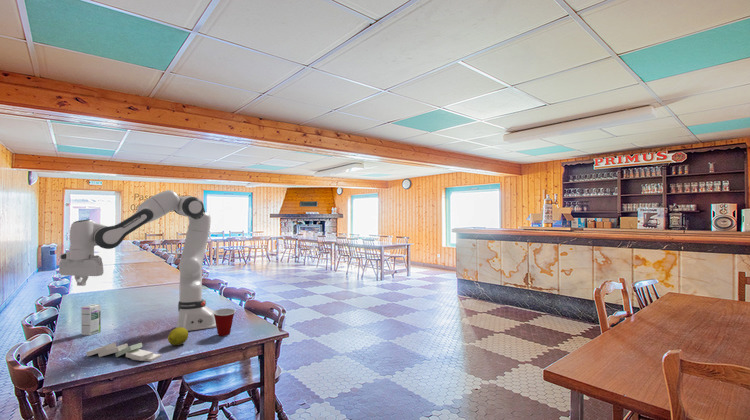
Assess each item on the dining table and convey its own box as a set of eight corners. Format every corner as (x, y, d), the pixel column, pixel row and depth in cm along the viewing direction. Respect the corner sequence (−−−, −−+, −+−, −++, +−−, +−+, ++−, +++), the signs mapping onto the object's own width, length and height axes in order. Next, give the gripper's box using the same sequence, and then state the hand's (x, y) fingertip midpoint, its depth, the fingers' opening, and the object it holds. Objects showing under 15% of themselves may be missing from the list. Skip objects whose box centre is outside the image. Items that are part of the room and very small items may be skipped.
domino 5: (131, 357, 153) (151, 358, 151) (141, 352, 158) (161, 354, 156) (131, 361, 153) (151, 363, 151) (141, 356, 158) (161, 358, 156)
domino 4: (125, 352, 153) (141, 356, 149) (137, 348, 158) (153, 352, 154) (125, 357, 153) (141, 360, 149) (137, 353, 158) (152, 356, 154)
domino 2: (97, 353, 156) (117, 347, 155) (108, 348, 161) (127, 343, 160) (99, 357, 156) (118, 351, 155) (109, 352, 161) (128, 347, 160)
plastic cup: (219, 339, 178) (219, 314, 179) (208, 334, 185) (209, 311, 186) (239, 333, 187) (239, 310, 187) (229, 329, 194) (229, 307, 194)
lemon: (180, 340, 177) (180, 324, 177) (193, 342, 175) (193, 325, 175) (161, 348, 166) (161, 330, 167) (175, 350, 164) (175, 332, 164)
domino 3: (127, 353, 160) (142, 346, 157) (116, 357, 155) (131, 350, 152) (126, 349, 160) (141, 342, 157) (115, 353, 156) (130, 345, 152)
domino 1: (86, 352, 157) (105, 346, 155) (96, 348, 162) (115, 342, 160) (87, 356, 157) (106, 350, 155) (97, 352, 161) (116, 346, 160)
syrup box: (90, 335, 185) (90, 306, 185) (80, 334, 186) (81, 306, 186) (100, 332, 190) (101, 304, 190) (91, 331, 191) (91, 303, 192)
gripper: (107, 254, 167) (107, 284, 167) (70, 254, 170) (69, 283, 170) (94, 256, 161) (94, 287, 160) (56, 255, 164) (55, 286, 164)
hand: (81, 285), depth 165 cm, fingers closed
